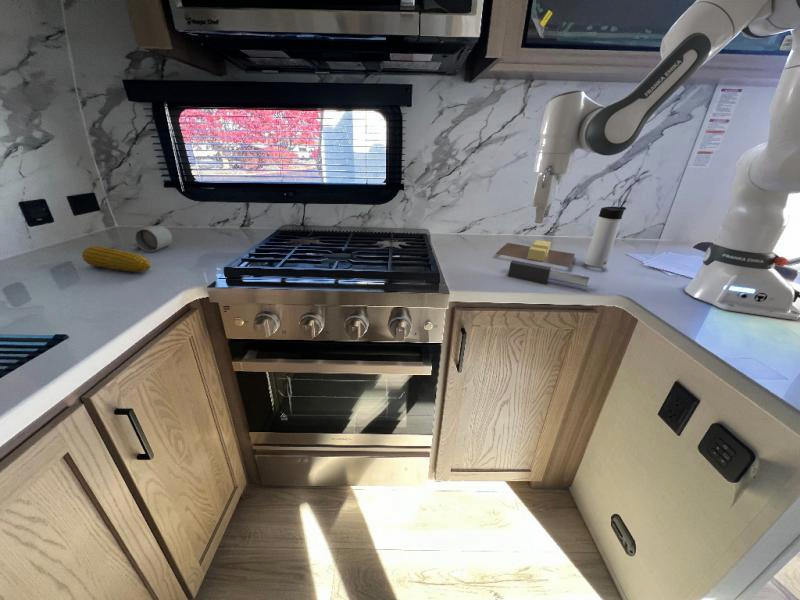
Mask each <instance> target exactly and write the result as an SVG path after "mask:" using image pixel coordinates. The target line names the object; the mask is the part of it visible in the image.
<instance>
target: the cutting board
mask: <svg viewBox="0 0 800 600" xmlns="http://www.w3.org/2000/svg"><path fill="white" fill-rule="evenodd" d="M531 247H532V246H528V245H523V244H517V243H513V242H507V243H506V244H504V245H503V246H502V247H501V248H500V249H499V250H498V251H496V253H495V254H496V255H500V256H505V257H506V256H507V257H511V258H517V259H523V260H528V261H533V262H539V263H543V264H549V265H555V266H560V267H561V266H562V267H566V268H571V267H572V265H573V261H574V258H575V255H576V254H575V253H571V252H565V251H559V250H554V249H549V252H548V253H547V255H546V256H545V258H544V261H537V260H532V259H528V254H529V249H530V248H531Z"/></svg>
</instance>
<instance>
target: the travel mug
mask: <svg viewBox="0 0 800 600" xmlns="http://www.w3.org/2000/svg"><path fill="white" fill-rule="evenodd" d="M626 210H627V207H625V206H603V207H601V208H600V211H599V214H598V217H597V220H596V224H595V227H594V230H593V234H592V237H591V240H590V243H589V247H588V250H587V254H586V257H585V261H584V263H585V264H586V265H588V266H590V267H595V268H602V271H603V272H604V271H605V270H606V268H607V265H608V262H609V260H610V256H611V253H612V250H613V247H614V245H615V244H614V243H615V240H616V237H617V235H618V231H619V228H620V225H621V222H622V218H623V215H624V212H625V211H626Z"/></svg>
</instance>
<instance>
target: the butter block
mask: <svg viewBox="0 0 800 600" xmlns="http://www.w3.org/2000/svg"><path fill="white" fill-rule="evenodd" d="M551 243H552V242H551V241H547V240H541V239H536V240H535V241H534V242H533V243H532V246H531V247H536V248H542V249H547V250H546V254H545V256H546V255H547V253H548V252H549V250H550V247H551Z"/></svg>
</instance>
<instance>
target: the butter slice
mask: <svg viewBox="0 0 800 600" xmlns="http://www.w3.org/2000/svg"><path fill="white" fill-rule="evenodd" d="M530 247H531V248H530V249H529V254H528V259H532V260H537V261H536V262H538V261H544V258H545V254H546V250H547V249H542V248H536V247H532V246H530ZM532 260H531V261H532Z"/></svg>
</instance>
